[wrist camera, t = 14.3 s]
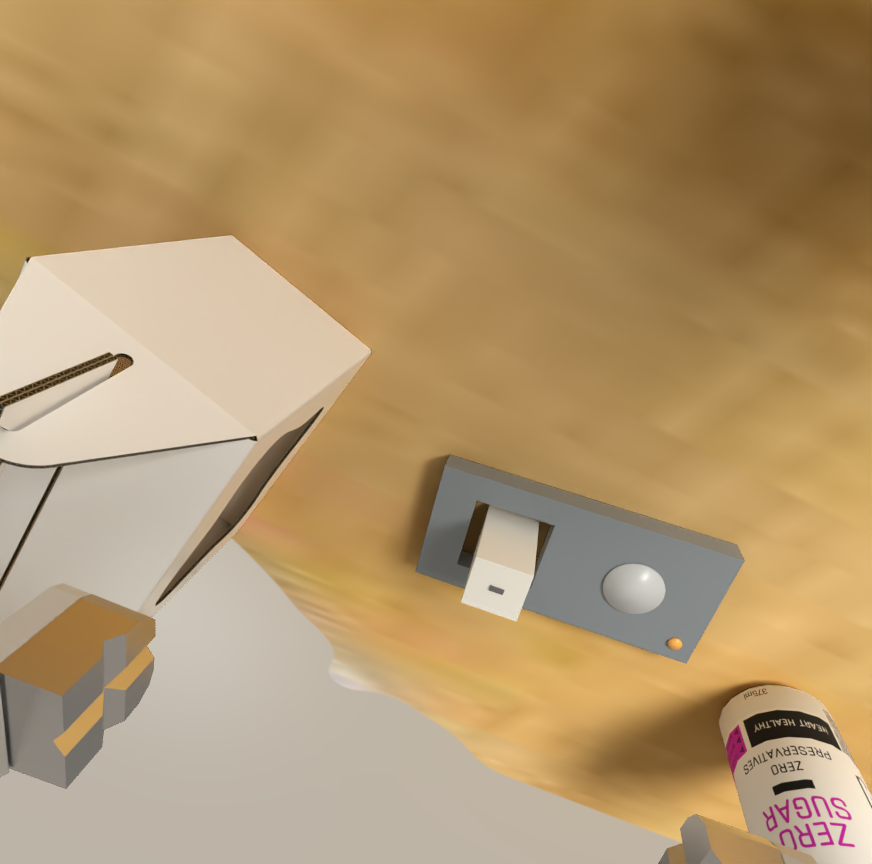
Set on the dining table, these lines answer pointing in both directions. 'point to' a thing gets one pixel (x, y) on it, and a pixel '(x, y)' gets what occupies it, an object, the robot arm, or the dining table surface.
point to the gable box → (150, 412)
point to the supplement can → (797, 775)
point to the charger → (502, 563)
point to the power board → (590, 560)
